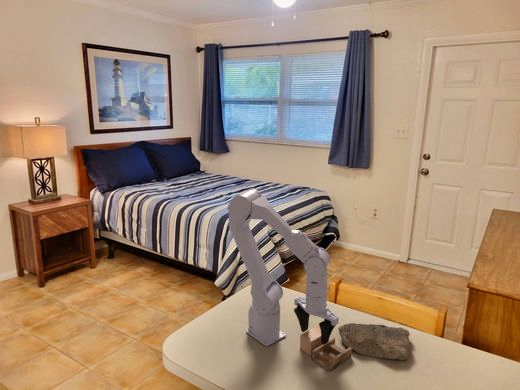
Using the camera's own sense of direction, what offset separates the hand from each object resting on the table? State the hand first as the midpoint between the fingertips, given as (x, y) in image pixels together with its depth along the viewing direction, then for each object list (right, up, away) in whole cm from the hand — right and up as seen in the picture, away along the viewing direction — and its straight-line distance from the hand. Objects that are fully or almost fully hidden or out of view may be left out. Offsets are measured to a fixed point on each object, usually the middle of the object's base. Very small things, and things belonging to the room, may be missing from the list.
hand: (314, 336), depth 107 cm
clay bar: (0, -3, +1) cm, 4 cm away
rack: (+4, -4, -4) cm, 7 cm away
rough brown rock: (+17, -3, +3) cm, 18 cm away
